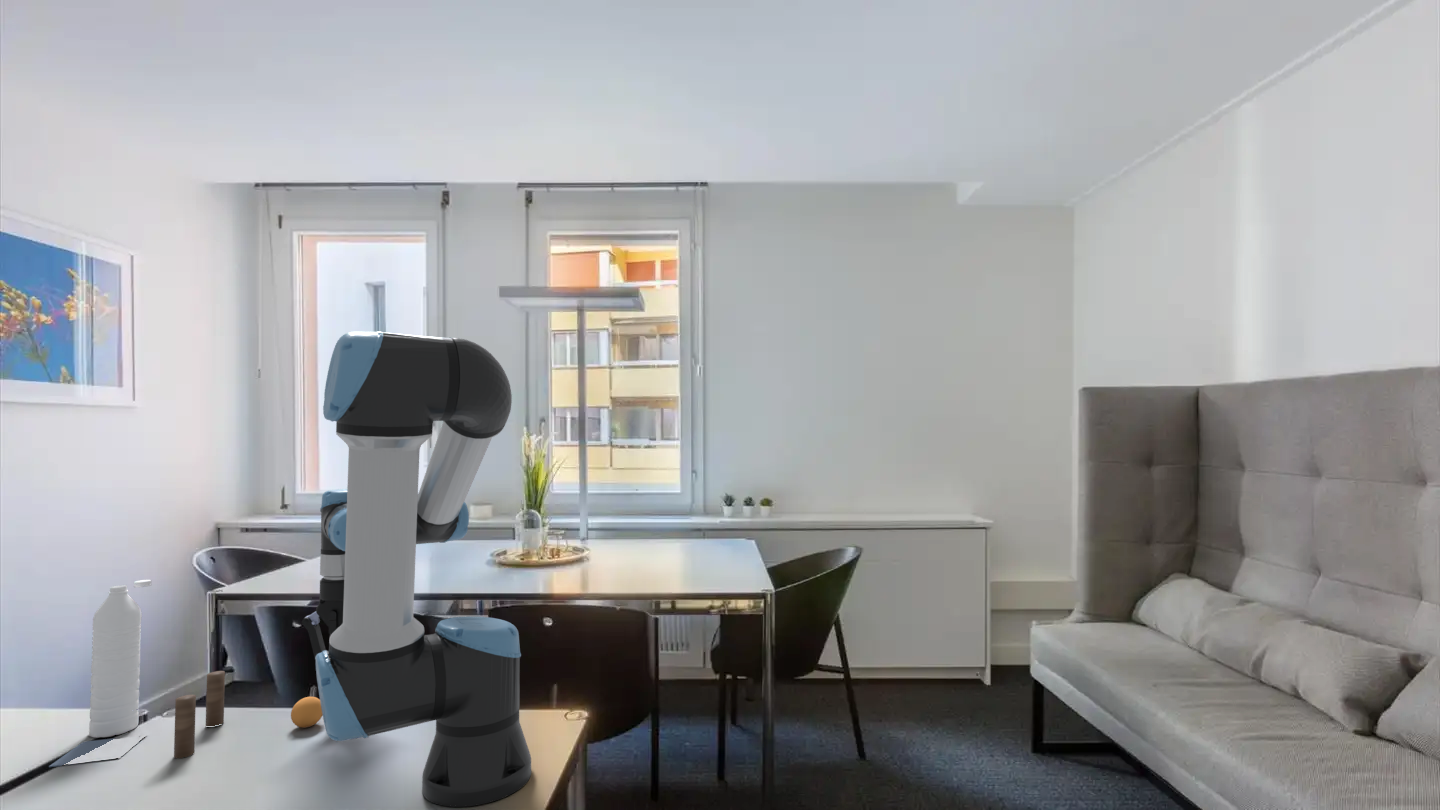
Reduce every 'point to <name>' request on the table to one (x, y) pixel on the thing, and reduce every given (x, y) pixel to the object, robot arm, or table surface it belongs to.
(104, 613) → the water bottle
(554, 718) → the table surface
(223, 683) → the far post
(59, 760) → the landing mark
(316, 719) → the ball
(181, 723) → the near post
